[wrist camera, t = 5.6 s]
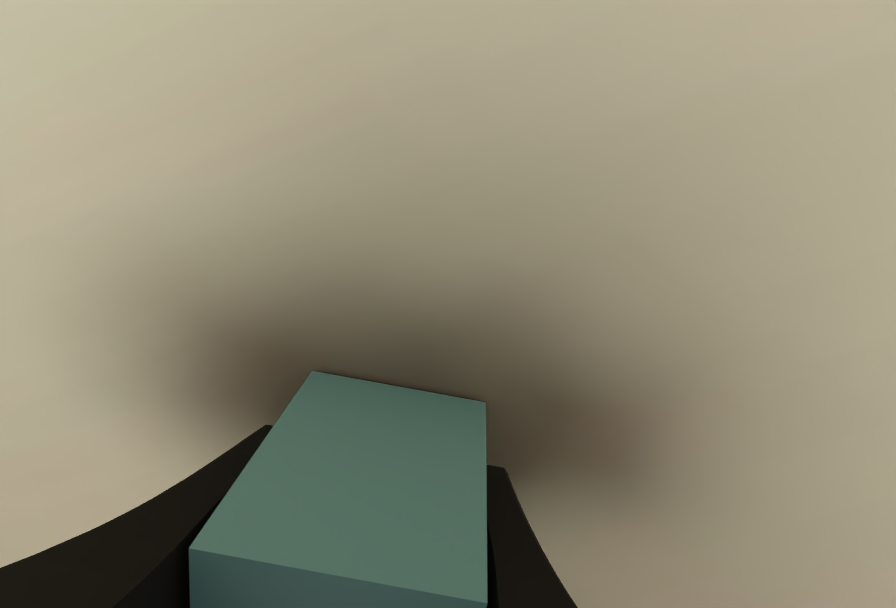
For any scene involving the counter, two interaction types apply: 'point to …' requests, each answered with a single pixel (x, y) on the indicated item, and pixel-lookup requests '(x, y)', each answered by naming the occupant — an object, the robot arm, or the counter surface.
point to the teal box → (354, 506)
